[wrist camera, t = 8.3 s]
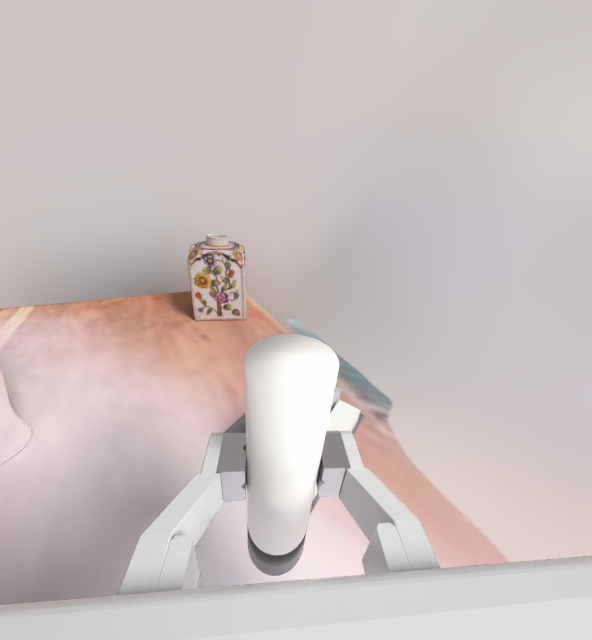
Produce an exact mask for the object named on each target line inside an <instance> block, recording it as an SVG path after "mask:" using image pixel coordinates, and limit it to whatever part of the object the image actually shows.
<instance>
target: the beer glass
mask: <svg viewBox="0 0 592 640" xmlns="http://www.w3.org/2000/svg"><path fill="white" fill-rule="evenodd" d="M31 436H32V430H31V428H30V427H29V425H27V424H26V423H25V422H24V421H23V420H22V419H21V418H19V417H18V416H17V415H16V413H15V412H14V411H13V409H12V407H11V405H10V401H9V398H8V394H7V390H6V385H5V382H4V378H3V374H2V371H1V369H0V464H2V463H4V462H5V461H7V460H9V459H10V458H12V457H13V456H14V455H16V454H17V453H18V452H19V451H21V450H22V449H23V448H24V447H25V445H26V444H27V443H28V442H29V440H30V438H31Z"/></svg>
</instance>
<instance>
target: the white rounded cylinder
mask: <svg viewBox="0 0 592 640" xmlns="http://www.w3.org/2000/svg"><path fill="white" fill-rule="evenodd" d="M244 361H245V416H246V459H247V469H246V470H247V528H248V550H249V554H250V557H251V559H252V561H253V563H254V564H255V566H256V567H257V568H258V569H259V570H260V571H262V572H263V573H265V574H268V575H272V576H277V575H282V574H284V573H286V572H288V571H289V570H291V569H292V568H293V567H294V566H295V565H296V563H297V562H298V560H299V558H300V556H301V554H302V550H303V546H304V541H305V536H306V531H307V526H308V521H309V516H310V510H311V505H312V500H313V495H314V490H315V485H316V480H317V475H318V470H319V465H320V460H321V455H322V450H323V445H324V440H325V435H326V430H327V425H328V420H329V415H330V410H331V405H332V400H333V395H334V390H335V385H336V380H337V375H338V370H339V361H338V358H337V356H336V354H335V353H334V351H333V350H332V349H331V348H330V347H328V346H327V345H326V344H324V343H322V342H321V341H319V340H316V339H314V338H311V337H308V336H303V335H297V334H278V335H272V336H268V337H265V338H262V339H260V340H258V341H257V342H255V343H254V344H252V345H251V346H250V347H249V349H248V350H247V352H246V354H245V360H244Z"/></svg>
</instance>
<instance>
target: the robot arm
mask: <svg viewBox="0 0 592 640" xmlns="http://www.w3.org/2000/svg"><path fill="white" fill-rule="evenodd" d="M246 469H247V459H246V433H212V434H211V436H210V439H209V442H208V446H207V450H206V454H205V458H204V462H203V465H202V469H201V473H200V474H196V475H195V476H194V477H193V478H192V479H191V480H190V482H189V483H188V484H187V485H186V486H185V487H184V488H183V489H182V490H181V491H180V493H179V494H178V495H177V496H176V497H175V498H174V499H173V500H172V501H171V503H170V504H169V505H168V506H167V507H166V508H165V509H164V510H163V511H162V513H161V514H160V515H159V516H158V517H157V518H156V519H155V520H154V521H153V523H152V524H151V525H150V526H149V527H148V528H147V529H146V530H145V531H144V533H143V534H142V535H141V536H140V538H139V541H138V544H137V546H136V549H135V551H134V554H133V556H132V559H131V561H130V564H129V567H128V569H127V572H126V574H125V577H124V579H123V582H122V584H121V587H120V590H119V592H118V595H115V596H103V597H91V598H79V599H67V600H56V601H44V602H32V603H20V604H8V605H0V640H592V556H582V557H570V558H558V559H546V560H534V561H522V562H510V563H498V564H486V565H474V566H462V567H450V568H440V566H439V564H438V561H437V559H436V557H435V555H434V552H433V550H432V548H431V546H430V543H429V541H428V539H427V537H426V534H425V532H424V530H423V528H422V525H421V523H420V521H419V519H418V518H417V517H416V516H415V515H414V514H413V513H412V512H411V511H410V510H409V509H408V508H407V507H406V506H405V505H404V504H403V503H402V502H401V501H400V500H399V499H398V498H397V497H396V496H395V495H394V494H393V493H392V492H391V491H390V490H389V489H388V488H387V487H386V486H385V485H384V484H383V483H382V482H381V481H380V480H379V479H378V478H377V477H376V476H375V475H374V474H373V473H372V472H371V471H370V470H369V469H368V468H364V466H363V463H362V460H361V457H360V454H359V451H358V448H357V446H356V443H355V440H354V437H353V434H352V432H351V431H326V435H325V440H324V445H323V450H322V455H321V460H320V465H319V470H318V475H317V480H316V485H317V492H318V497H328V496H339V498H340V500H341V501H342V503H343V504H344V506H345V507H346V508H347V510H348V511H349V513H350V514H351V516H352V517H353V518H354V520H355V521H356V523H357V524H358V526H359V527H360V528H361V530H362V531H363V533H364V534H365V536H366V537H367V538H368V540H369V541H370V543H369V546H368V548H367V550H366V552H365V554H364V557H363V559H362V563H363V567H364V571H365V575H354V576H342V577H331V578H319V579H307V580H295V581H283V582H271V583H259V584H247V585H235V586H223V587H211V588H199V589H197V588H198V583H199V577H200V569H199V565H198V560H197V556H196V551H195V546H196V544H197V543H198V541H199V540H200V538H201V537H202V535H203V534H204V532H205V530H206V529H207V527H208V526H209V524H210V523H211V521H212V520H213V518H214V516H215V515H216V513H217V512H218V510H219V509H220V507H221V506H222V504H223V502H226V501H239V500H245V499H246V488H247V470H246Z"/></svg>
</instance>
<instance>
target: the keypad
mask: <svg viewBox="0 0 592 640" xmlns="http://www.w3.org/2000/svg"><path fill="white" fill-rule="evenodd" d="M340 394H341V388H338V387H336V386H335V390H334V395H333V400H332V405H331V410H330V415H329V420H328V425H327V430H326V431H351V432H352V434H353V435H354V433H355V431H356V429H357V427H358V425H359V423H360V422H361V420H362V418H363V415H362V414H360V410H359V409H357V408H355V407H353V406H351V405H349V404H347V403H345V402H343V401H341V400H339V399H340ZM225 433H246V416H245V415H244V416H243V417H242V418H241V419H240V420H238V421H237V422H236V423H235V424H234V425H233V426H232V427H231V428H229V429H228V430H227V431H226V432H225ZM318 499H319V497H318V492H317V485H315V490H314V495H313V500H312V505H311V510H310V514H311V512H312V510H313V508H314V506H315V505H316V503H317V501H318Z"/></svg>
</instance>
